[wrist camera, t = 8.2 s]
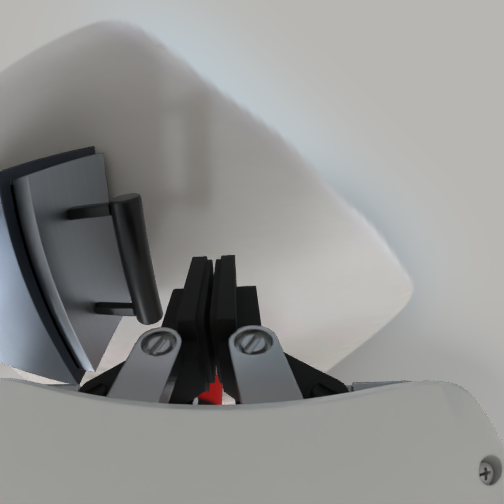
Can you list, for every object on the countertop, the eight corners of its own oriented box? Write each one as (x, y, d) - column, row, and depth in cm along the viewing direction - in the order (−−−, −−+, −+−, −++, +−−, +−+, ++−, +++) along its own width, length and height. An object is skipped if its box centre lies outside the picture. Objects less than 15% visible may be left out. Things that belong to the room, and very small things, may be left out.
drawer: (163, 143, 15) (105, 157, 8) (182, 299, 20) (161, 380, 13) (-9, 184, 15) (-69, 213, 8) (22, 294, 20) (-19, 342, 13)
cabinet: (94, 145, 16) (-3, 172, 7) (124, 299, 21) (79, 386, 12) (-15, 180, 15) (-84, 214, 7) (16, 293, 21) (-31, 349, 12)
